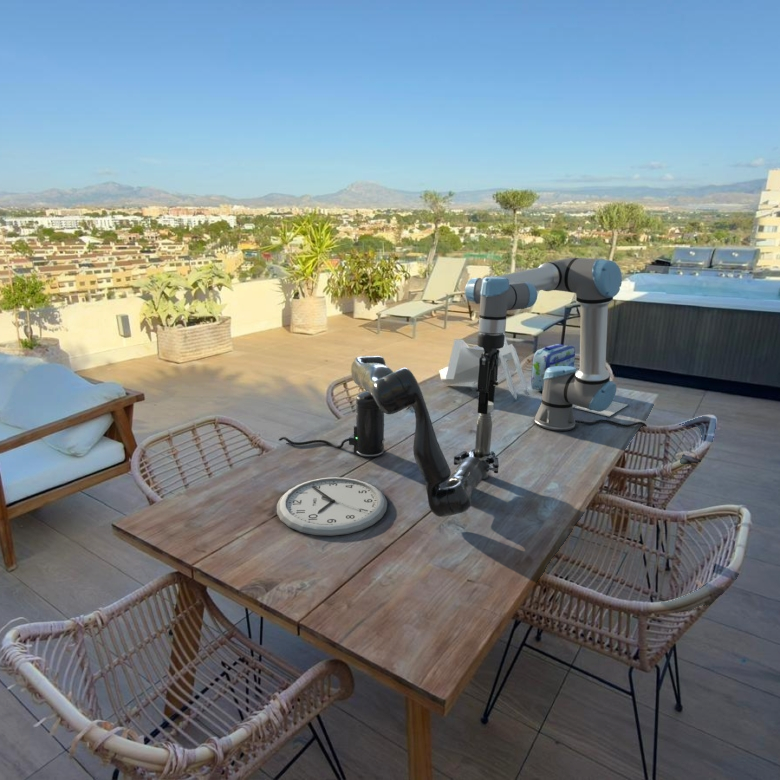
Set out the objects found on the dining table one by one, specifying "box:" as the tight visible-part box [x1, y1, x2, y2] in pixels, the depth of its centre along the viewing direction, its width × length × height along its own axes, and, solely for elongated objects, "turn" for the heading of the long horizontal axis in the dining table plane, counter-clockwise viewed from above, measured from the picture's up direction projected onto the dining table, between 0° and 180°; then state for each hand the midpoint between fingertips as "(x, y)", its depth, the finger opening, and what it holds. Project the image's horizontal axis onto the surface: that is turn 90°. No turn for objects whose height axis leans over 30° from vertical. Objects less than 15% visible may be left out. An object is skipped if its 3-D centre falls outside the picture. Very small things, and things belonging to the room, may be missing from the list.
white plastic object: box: [438, 332, 531, 400], centre depth 245 cm, size 37×45×31 cm
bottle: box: [474, 412, 493, 480], centre depth 158 cm, size 4×4×23 cm
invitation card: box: [573, 400, 629, 418], centre depth 226 cm, size 21×1×15 cm
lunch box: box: [530, 343, 576, 392], centre depth 248 cm, size 26×11×21 cm, turn 134°
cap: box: [487, 401, 495, 413], centre depth 155 cm, size 4×4×2 cm
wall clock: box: [276, 476, 388, 537], centre depth 142 cm, size 30×2×30 cm
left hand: (484, 452), depth 162 cm, fingers closed on bottle, 4 cm apart
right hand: (485, 409), depth 155 cm, fingers open, 6 cm apart
